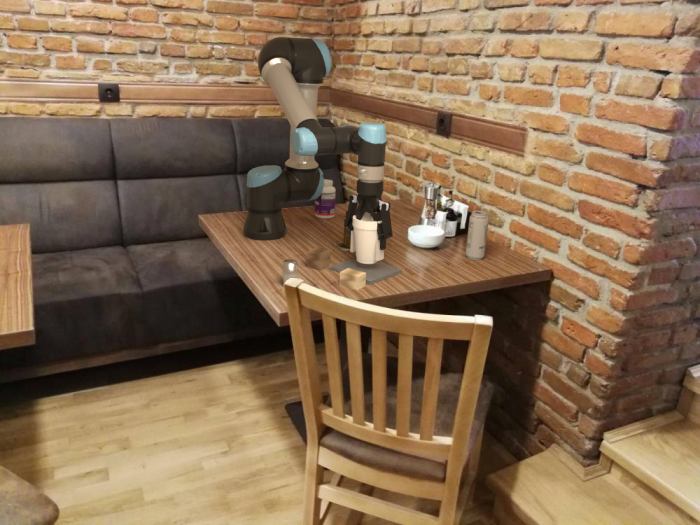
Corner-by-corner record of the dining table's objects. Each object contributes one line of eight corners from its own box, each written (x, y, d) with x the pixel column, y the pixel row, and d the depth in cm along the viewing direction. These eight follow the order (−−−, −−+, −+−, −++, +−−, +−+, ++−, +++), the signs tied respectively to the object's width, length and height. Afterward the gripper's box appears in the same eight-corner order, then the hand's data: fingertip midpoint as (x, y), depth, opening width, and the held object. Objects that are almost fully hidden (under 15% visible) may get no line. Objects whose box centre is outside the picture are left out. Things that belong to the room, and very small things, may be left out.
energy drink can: (482, 261, 176) (488, 216, 171) (463, 259, 178) (468, 213, 173) (485, 256, 182) (490, 211, 177) (466, 253, 184) (471, 209, 178)
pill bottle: (314, 214, 223) (314, 178, 218) (334, 214, 224) (335, 178, 219) (315, 219, 215) (315, 182, 210) (335, 219, 216) (336, 183, 211)
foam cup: (368, 268, 158) (370, 224, 153) (344, 259, 164) (346, 217, 159) (389, 260, 164) (392, 218, 160) (365, 252, 170) (367, 211, 166)
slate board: (330, 269, 165) (330, 266, 165) (361, 258, 175) (362, 255, 175) (370, 284, 155) (370, 281, 155) (401, 272, 165) (401, 269, 164)
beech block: (339, 285, 154) (339, 272, 153) (347, 281, 157) (348, 268, 156) (357, 290, 151) (358, 277, 150) (365, 286, 154) (366, 272, 153)
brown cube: (306, 267, 166) (307, 251, 164) (315, 262, 170) (316, 247, 169) (321, 270, 164) (321, 255, 162) (329, 266, 168) (330, 250, 166)
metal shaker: (279, 285, 152) (279, 261, 150) (291, 281, 155) (291, 258, 152) (289, 289, 150) (289, 265, 147) (300, 286, 152) (300, 262, 150)
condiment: (366, 247, 185) (368, 213, 181) (345, 251, 181) (346, 216, 177) (354, 241, 191) (355, 207, 187) (333, 245, 187) (334, 210, 183)
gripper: (333, 175, 160) (331, 248, 168) (391, 188, 146) (386, 268, 154) (351, 172, 165) (348, 243, 173) (409, 184, 151) (403, 262, 159)
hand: (366, 255), depth 163 cm, fingers closed on foam cup, 9 cm apart
